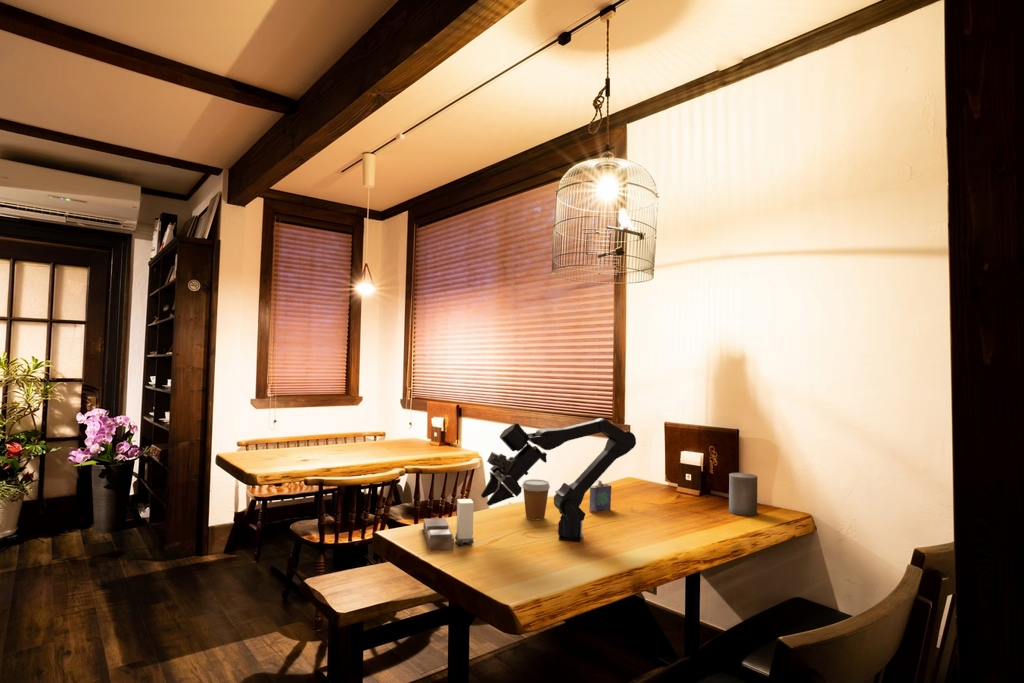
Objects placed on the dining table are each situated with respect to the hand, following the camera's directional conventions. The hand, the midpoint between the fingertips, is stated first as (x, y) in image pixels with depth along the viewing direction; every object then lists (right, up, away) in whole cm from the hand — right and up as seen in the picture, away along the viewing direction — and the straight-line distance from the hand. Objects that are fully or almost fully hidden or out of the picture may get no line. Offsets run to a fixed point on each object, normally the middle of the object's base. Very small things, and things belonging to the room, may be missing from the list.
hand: (484, 500), depth 167 cm
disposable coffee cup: (+16, -13, +27) cm, 34 cm away
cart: (-6, -12, -2) cm, 13 cm away
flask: (+40, -15, +38) cm, 57 cm away
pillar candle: (+92, -16, +41) cm, 102 cm away
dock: (-14, -12, +2) cm, 18 cm away
